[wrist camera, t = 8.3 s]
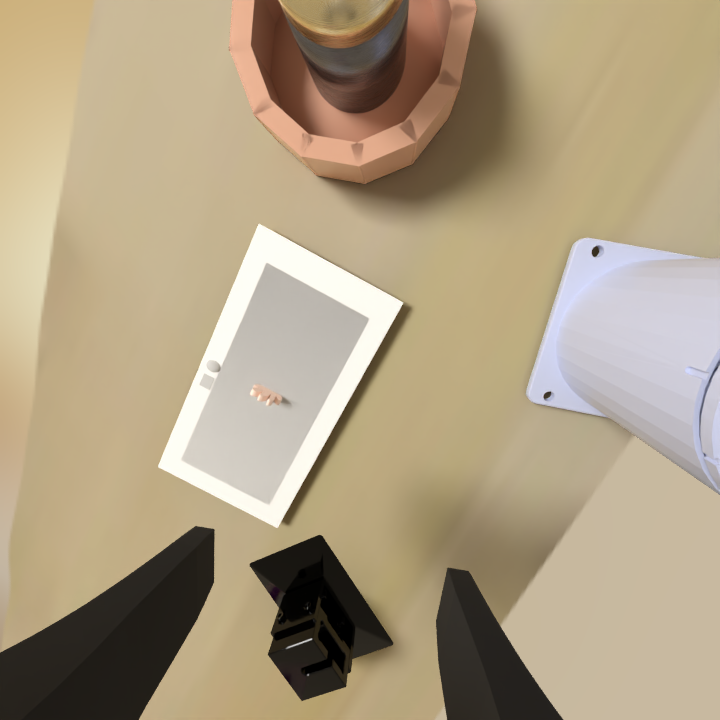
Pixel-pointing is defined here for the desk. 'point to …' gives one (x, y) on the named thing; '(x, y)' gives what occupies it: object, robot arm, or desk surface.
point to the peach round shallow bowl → (341, 129)
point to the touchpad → (276, 376)
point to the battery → (351, 48)
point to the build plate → (316, 617)
